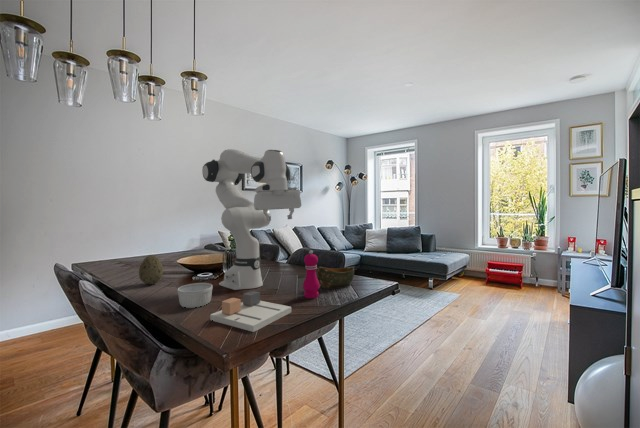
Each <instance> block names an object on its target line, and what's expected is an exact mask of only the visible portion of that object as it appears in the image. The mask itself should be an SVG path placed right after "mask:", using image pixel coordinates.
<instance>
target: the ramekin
mask: <svg viewBox="0 0 640 428" xmlns="http://www.w3.org/2000/svg"><path fill="white" fill-rule="evenodd" d="M212 293H213V284H212V283H208V282H196V283H188V284H185V285H181V286H178V288H177V294H178V295H177V296H178V300H179V305H180V306H181V307H182V308H184V307H186V308H185V309H196V308H195V307H197V308H201V307H200V306H202V307H204V305H205V306H207V305H208V303H209V304H210V302H211V300H212V297H213V294H212ZM206 304H207V305H206Z"/></svg>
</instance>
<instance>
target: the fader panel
mask: <svg viewBox="0 0 640 428" xmlns="http://www.w3.org/2000/svg"><path fill="white" fill-rule="evenodd" d="M292 309H293V308H292V306H288V305H284V304H281V303H275V302H269V301H264V300H260V303H258V304H255V305H253V306H247V305H243V301H241V311H238V312H236V313H233V314H231V315H229V314H225V313H222V309H221V310H217V311H216V312H213V313H211V314H210V315H209V317H210V321H212V320H213V322H215V323H219V324H223V325H227V326H230V327H233V328H237V329H241V330H245V331H248V332H252V333H255V332H256V331H259V330H260V329H263V328H264V327H266V326H268V325H270V324H271V323H274V322H276V321H278V320H279V319H281V318H283V317H285V316H287V315H289V314H291V313H292Z"/></svg>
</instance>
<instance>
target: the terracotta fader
mask: <svg viewBox="0 0 640 428" xmlns="http://www.w3.org/2000/svg"><path fill="white" fill-rule="evenodd" d="M241 303H242V299H240V298H236V297H231V298H227V299H224V300H221V310H222V313H225V314H229V315H231V314H233V313H236V312H238V311H241Z"/></svg>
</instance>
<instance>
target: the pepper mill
mask: <svg viewBox="0 0 640 428" xmlns="http://www.w3.org/2000/svg"><path fill="white" fill-rule="evenodd" d="M313 253H314V251H313V250H311V249H310V250H309V251H308V254H306V255H305V256H304V258H303V263H304V264H305V266H304V267H305V270H306V275H305V279H304V281H303V284H302V288H303V290H304V291H303V292H304V294H303V296H304V298H305V299H316V298H318V297H319V296H320V295H319V294H320V293H319V289H320V286H321V284H319V281H318V279H317V272H316V271H317V270H316V269H317V268H318V266H317V264H318V262H319V258H318V256H317V255H316V254H313Z"/></svg>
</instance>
